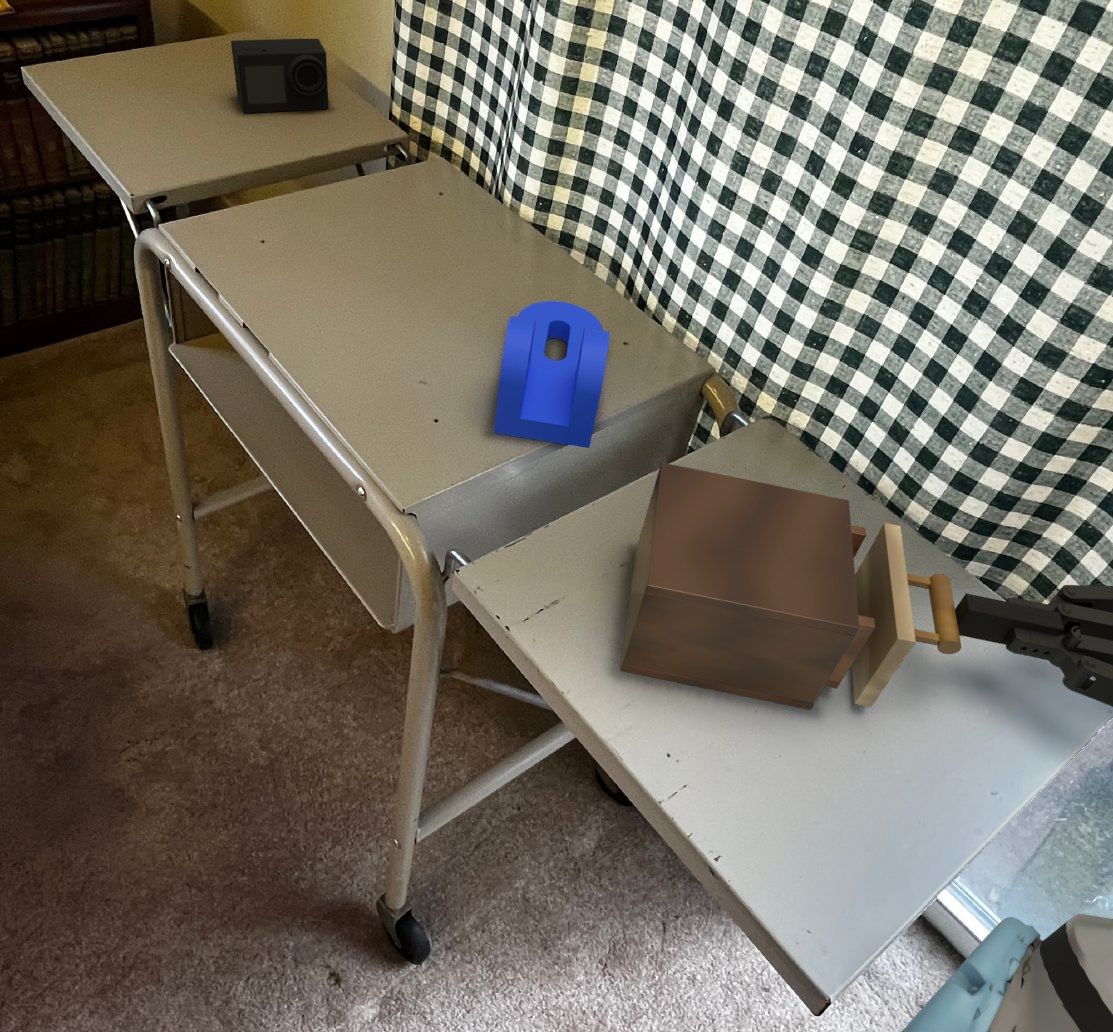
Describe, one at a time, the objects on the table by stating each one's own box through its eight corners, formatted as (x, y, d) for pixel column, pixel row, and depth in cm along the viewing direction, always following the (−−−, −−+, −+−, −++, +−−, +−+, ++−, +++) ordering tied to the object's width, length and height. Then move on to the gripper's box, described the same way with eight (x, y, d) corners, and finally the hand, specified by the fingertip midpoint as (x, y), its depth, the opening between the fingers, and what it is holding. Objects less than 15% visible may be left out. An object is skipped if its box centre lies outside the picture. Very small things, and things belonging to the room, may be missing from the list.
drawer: (915, 604, 74) (959, 537, 68) (931, 719, 66) (982, 655, 61) (702, 561, 74) (728, 490, 68) (695, 671, 67) (723, 603, 61)
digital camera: (244, 118, 114) (238, 58, 109) (236, 98, 118) (229, 39, 112) (331, 114, 118) (328, 56, 113) (321, 94, 121) (318, 37, 116)
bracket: (589, 448, 82) (606, 365, 76) (493, 432, 82) (502, 348, 76) (602, 326, 95) (617, 246, 88) (519, 313, 94) (528, 231, 88)
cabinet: (806, 584, 75) (849, 499, 68) (810, 710, 67) (859, 628, 60) (636, 549, 75) (661, 461, 68) (620, 670, 67) (647, 585, 60)
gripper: (1295, 795, 64) (947, 722, 64) (1231, 639, 73) (926, 577, 73) (1380, 737, 58) (999, 659, 59) (1299, 577, 67) (969, 510, 68)
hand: (959, 613), depth 66 cm, fingers closed
